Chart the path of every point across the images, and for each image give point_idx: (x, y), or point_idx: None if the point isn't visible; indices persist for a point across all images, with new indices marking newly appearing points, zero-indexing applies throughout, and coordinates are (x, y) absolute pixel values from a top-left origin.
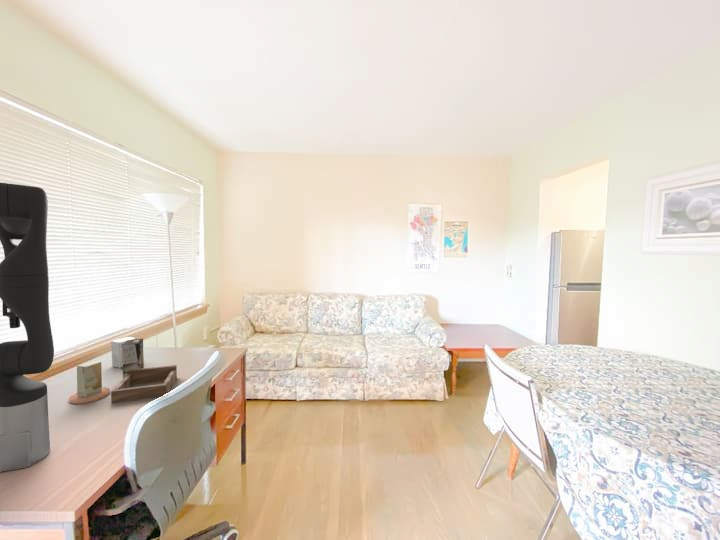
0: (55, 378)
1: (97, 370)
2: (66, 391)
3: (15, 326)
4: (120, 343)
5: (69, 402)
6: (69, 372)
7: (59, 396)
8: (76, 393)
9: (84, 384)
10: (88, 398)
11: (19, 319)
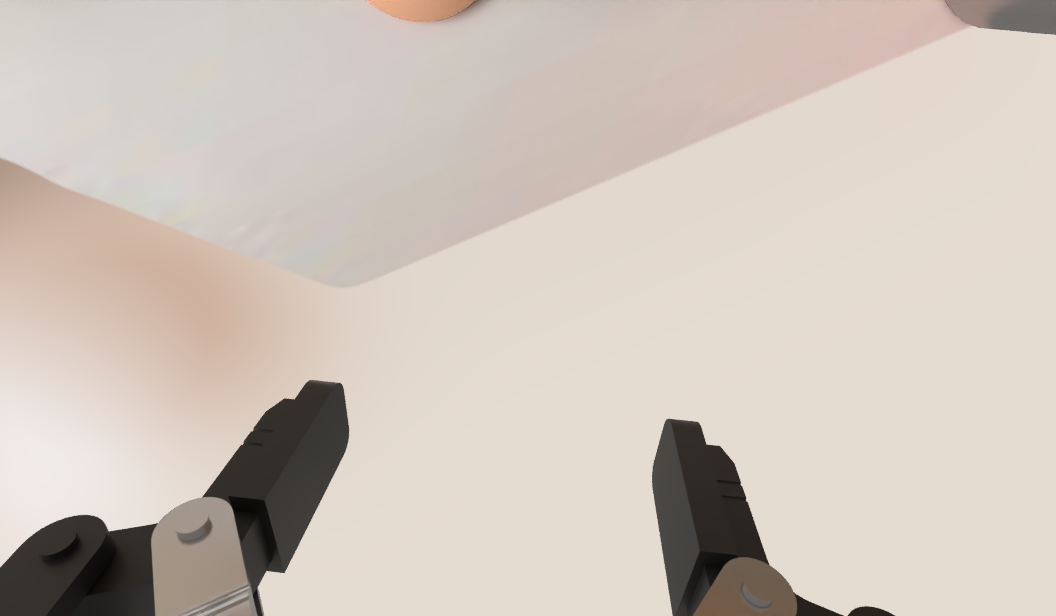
0: (142, 208)
1: None
2: (315, 86)
3: (717, 450)
4: None
5: (467, 6)
6: (64, 177)
7: (372, 93)
8: (383, 5)
9: None
10: None
11: (696, 504)
